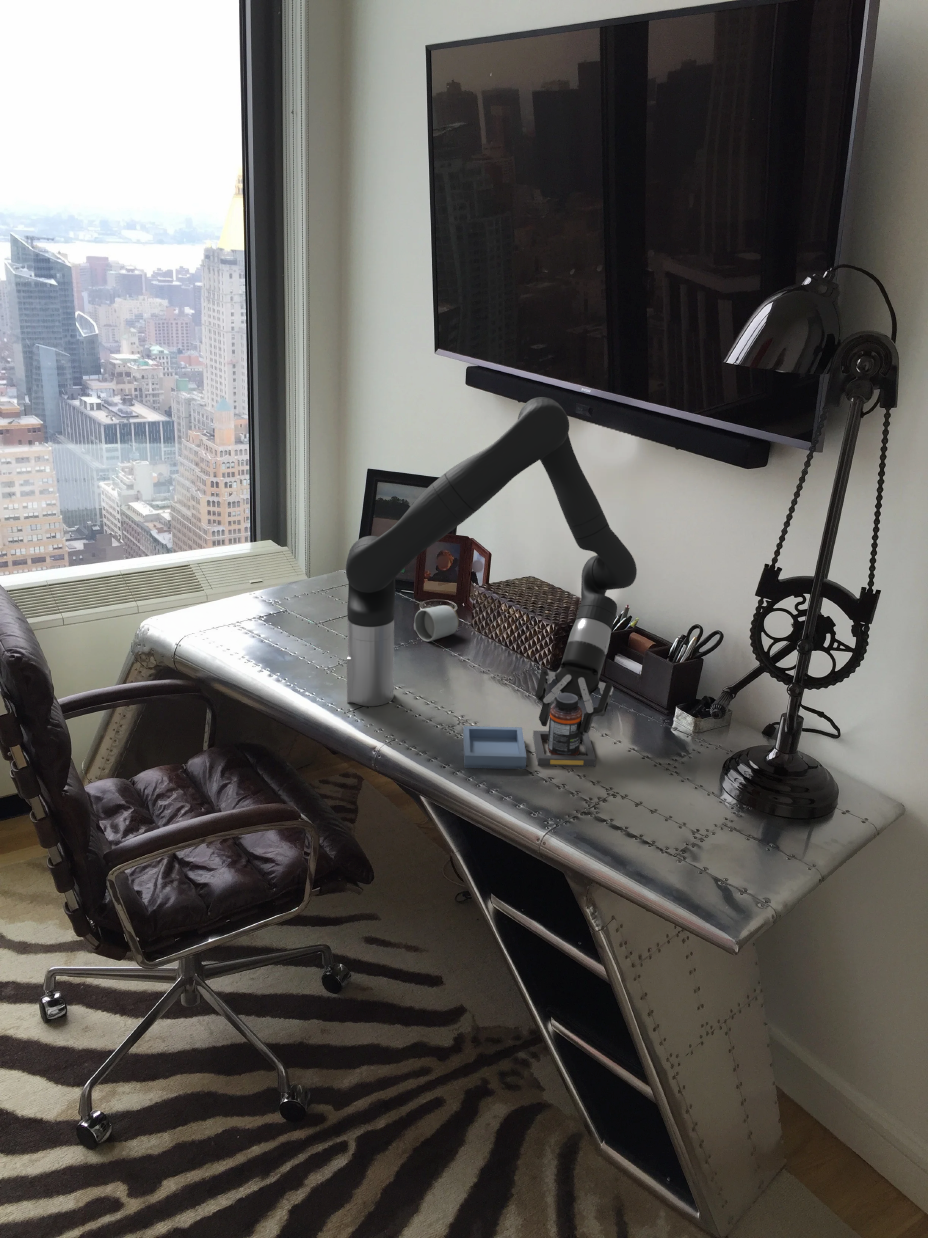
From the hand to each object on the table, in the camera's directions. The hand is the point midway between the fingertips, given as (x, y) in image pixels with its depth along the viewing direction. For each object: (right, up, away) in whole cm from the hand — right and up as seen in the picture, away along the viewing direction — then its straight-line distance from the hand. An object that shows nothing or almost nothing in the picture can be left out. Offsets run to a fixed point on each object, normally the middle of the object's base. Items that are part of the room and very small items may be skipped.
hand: (562, 729), depth 181 cm
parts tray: (-13, -5, +2) cm, 14 cm away
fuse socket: (0, -5, +3) cm, 6 cm away
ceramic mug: (-25, +16, +53) cm, 61 cm away
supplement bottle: (0, -5, +3) cm, 6 cm away
